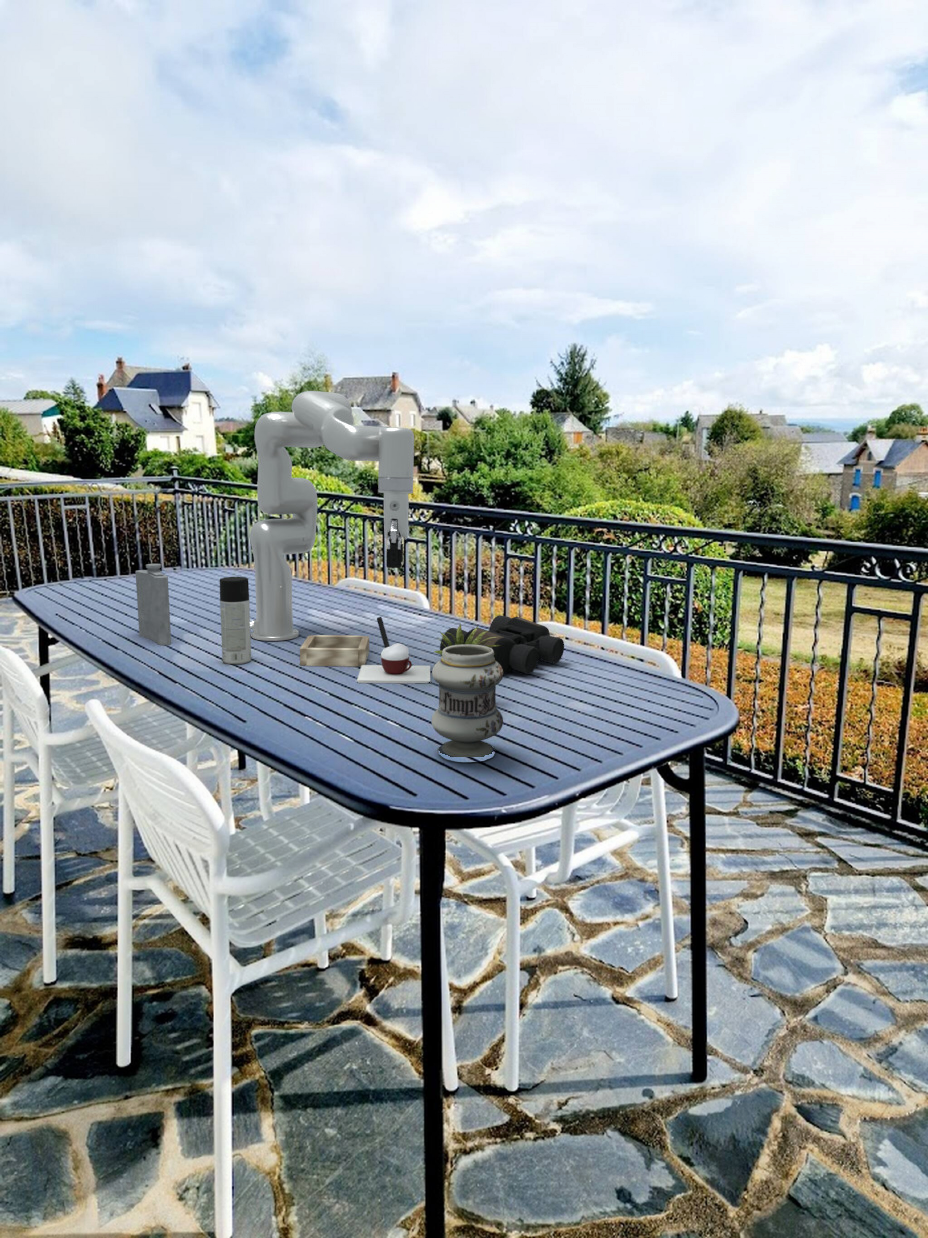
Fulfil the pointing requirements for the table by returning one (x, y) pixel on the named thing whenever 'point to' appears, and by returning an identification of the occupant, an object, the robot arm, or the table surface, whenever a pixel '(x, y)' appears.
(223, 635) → the spray can
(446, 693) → the apothecary jar
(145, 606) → the hip flask
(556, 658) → the binoculars
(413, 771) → the table surface
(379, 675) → the mat
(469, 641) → the house plant
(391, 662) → the cocoa
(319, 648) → the holder
